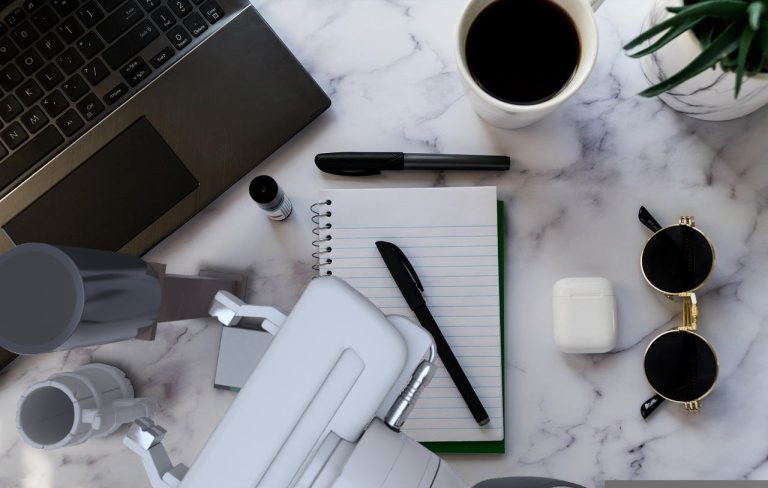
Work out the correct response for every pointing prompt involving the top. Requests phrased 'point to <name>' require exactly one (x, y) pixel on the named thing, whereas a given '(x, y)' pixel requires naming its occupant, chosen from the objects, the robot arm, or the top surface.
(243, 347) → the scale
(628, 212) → the top surface
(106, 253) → the grey cylinder
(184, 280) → the stand
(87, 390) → the mug
